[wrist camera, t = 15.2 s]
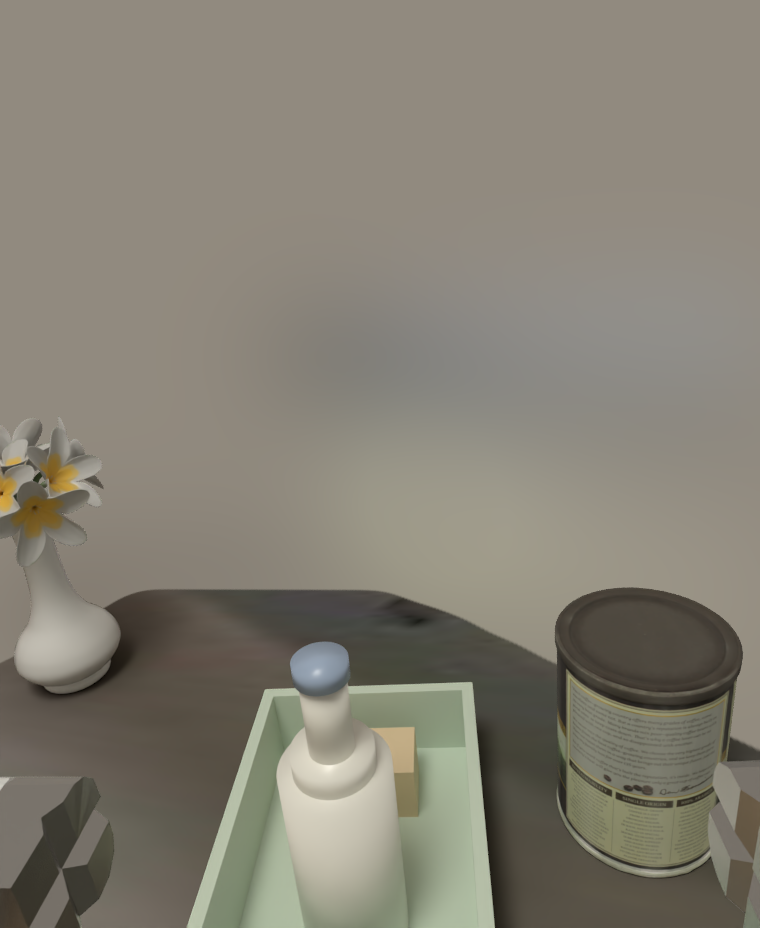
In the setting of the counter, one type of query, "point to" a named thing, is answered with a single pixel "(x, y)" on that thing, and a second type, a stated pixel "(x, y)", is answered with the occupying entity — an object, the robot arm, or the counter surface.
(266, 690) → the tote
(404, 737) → the butter block
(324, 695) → the milk bottle
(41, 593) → the flower vase
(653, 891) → the counter surface
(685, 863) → the coffee can
